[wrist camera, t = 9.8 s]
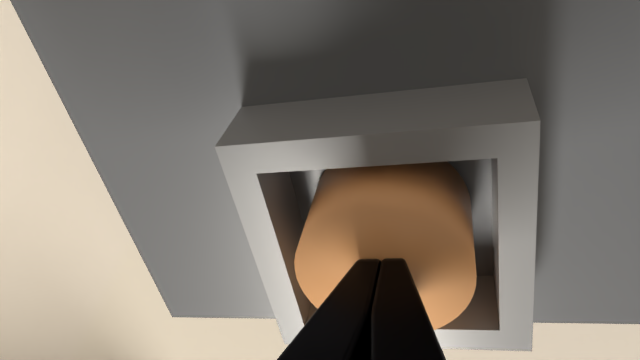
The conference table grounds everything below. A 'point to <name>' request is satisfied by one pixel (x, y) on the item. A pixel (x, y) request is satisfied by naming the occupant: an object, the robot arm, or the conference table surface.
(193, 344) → the conference table surface
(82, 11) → the control panel
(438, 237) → the orange button
